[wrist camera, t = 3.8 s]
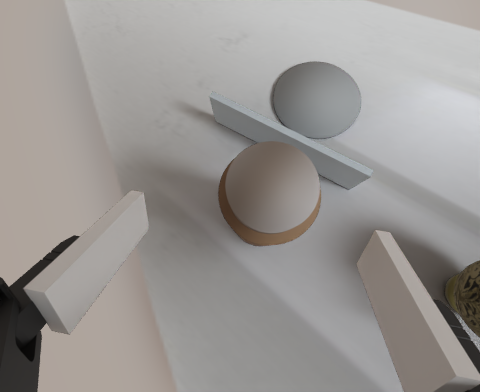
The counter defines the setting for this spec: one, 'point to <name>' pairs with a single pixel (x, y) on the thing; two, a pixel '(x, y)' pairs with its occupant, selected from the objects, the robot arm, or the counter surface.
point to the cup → (466, 295)
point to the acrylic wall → (288, 141)
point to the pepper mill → (270, 193)
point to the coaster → (317, 100)
